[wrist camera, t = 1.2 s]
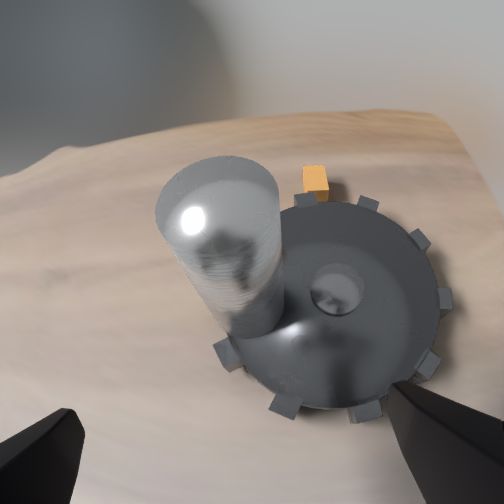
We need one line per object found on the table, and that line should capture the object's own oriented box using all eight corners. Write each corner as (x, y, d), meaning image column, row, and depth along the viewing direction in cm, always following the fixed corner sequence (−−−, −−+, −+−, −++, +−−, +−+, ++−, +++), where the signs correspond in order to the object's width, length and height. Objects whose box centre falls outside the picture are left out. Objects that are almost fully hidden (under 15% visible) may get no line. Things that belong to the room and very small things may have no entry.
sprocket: (471, 289, 18) (559, 188, 9) (345, 472, 14) (419, 526, 4) (312, 178, 24) (316, 52, 15) (168, 309, 20) (79, 204, 11)
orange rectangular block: (327, 205, 24) (329, 189, 22) (306, 206, 24) (307, 190, 22) (322, 180, 25) (323, 165, 24) (303, 181, 25) (303, 165, 24)
